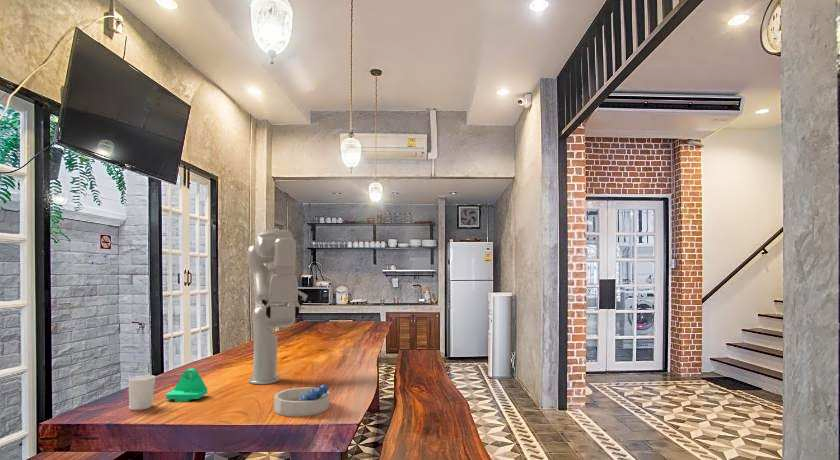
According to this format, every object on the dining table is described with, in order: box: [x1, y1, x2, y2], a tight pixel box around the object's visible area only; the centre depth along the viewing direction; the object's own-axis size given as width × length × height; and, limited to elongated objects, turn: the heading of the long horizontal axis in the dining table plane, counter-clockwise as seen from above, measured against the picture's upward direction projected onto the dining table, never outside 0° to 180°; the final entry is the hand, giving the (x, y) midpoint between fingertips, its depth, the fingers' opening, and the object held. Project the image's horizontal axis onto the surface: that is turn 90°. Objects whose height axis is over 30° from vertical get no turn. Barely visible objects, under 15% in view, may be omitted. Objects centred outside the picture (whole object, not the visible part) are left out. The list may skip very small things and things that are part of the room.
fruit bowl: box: [273, 386, 331, 418], centre depth 164 cm, size 18×18×5 cm
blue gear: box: [299, 384, 329, 401], centre depth 163 cm, size 12×7×12 cm
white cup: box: [128, 374, 156, 411], centre depth 164 cm, size 8×8×10 cm
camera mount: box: [165, 367, 208, 403], centre depth 175 cm, size 12×8×10 cm, turn 91°
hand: (282, 317), depth 177 cm, fingers open, 9 cm apart
